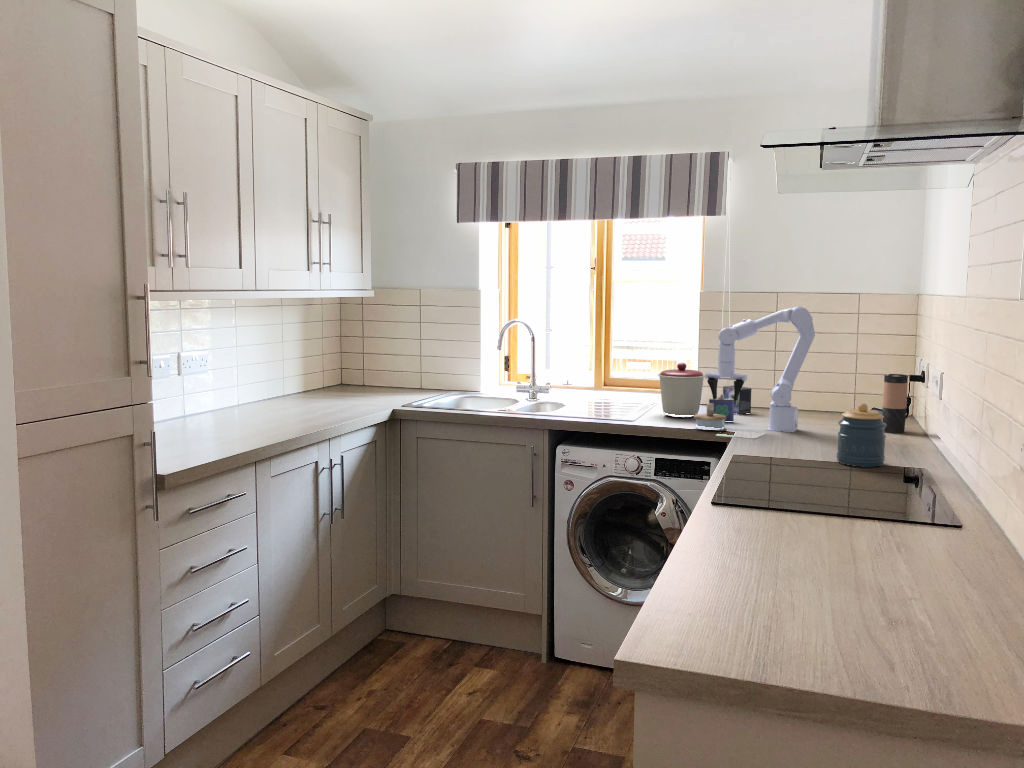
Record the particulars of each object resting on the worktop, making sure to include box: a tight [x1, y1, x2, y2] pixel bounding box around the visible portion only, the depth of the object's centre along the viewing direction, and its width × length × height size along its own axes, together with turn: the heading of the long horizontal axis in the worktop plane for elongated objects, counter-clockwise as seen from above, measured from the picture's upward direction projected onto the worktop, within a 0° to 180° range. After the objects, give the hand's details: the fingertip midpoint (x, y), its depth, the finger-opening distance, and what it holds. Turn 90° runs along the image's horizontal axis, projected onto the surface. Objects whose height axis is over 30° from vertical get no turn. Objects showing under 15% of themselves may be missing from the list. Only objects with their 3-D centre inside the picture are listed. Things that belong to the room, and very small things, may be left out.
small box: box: [722, 384, 752, 414], centre depth 345 cm, size 11×6×10 cm, turn 25°
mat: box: [715, 433, 734, 438], centre depth 297 cm, size 14×14×1 cm
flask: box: [708, 393, 735, 421], centre depth 322 cm, size 9×3×11 cm, turn 87°
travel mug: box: [881, 373, 909, 434], centre depth 301 cm, size 8×8×20 cm
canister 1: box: [657, 362, 705, 415], centre depth 336 cm, size 18×18×21 cm
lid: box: [693, 402, 726, 421], centre depth 308 cm, size 11×11×5 cm
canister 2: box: [836, 402, 887, 468], centre depth 250 cm, size 13×13×18 cm
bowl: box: [695, 419, 726, 428], centre depth 309 cm, size 10×10×4 cm
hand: (725, 399), depth 309 cm, fingers open, 7 cm apart
